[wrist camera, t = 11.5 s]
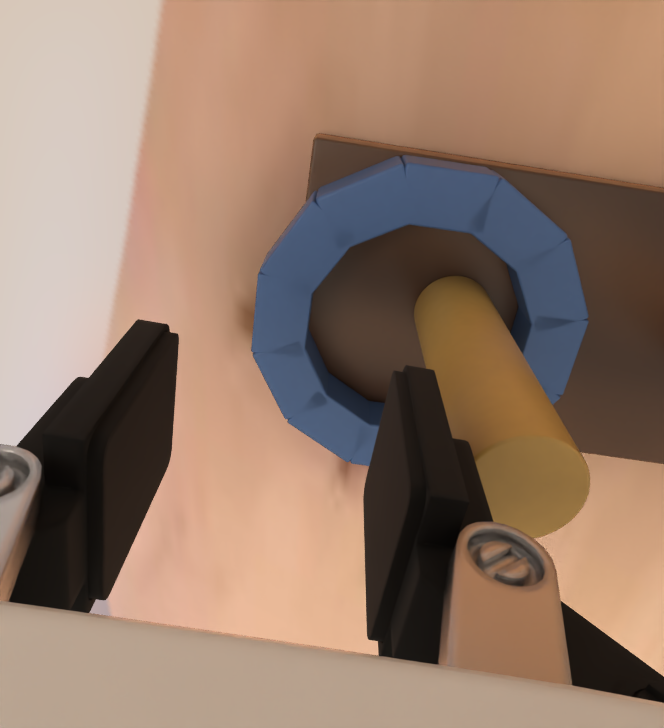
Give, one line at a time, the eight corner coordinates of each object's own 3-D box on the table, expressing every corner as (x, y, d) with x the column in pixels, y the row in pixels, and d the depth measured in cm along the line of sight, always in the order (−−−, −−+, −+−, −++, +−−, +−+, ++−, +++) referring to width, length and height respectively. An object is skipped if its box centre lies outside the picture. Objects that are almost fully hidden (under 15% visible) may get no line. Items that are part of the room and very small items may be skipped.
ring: (276, 135, 17) (269, 141, 16) (610, 185, 17) (633, 196, 16) (249, 424, 21) (242, 449, 20) (518, 460, 22) (530, 488, 20)
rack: (315, 132, 18) (278, 203, 9) (924, 229, 19) (1467, 386, 10) (283, 394, 22) (234, 627, 13) (786, 465, 23) (1077, 734, 14)
